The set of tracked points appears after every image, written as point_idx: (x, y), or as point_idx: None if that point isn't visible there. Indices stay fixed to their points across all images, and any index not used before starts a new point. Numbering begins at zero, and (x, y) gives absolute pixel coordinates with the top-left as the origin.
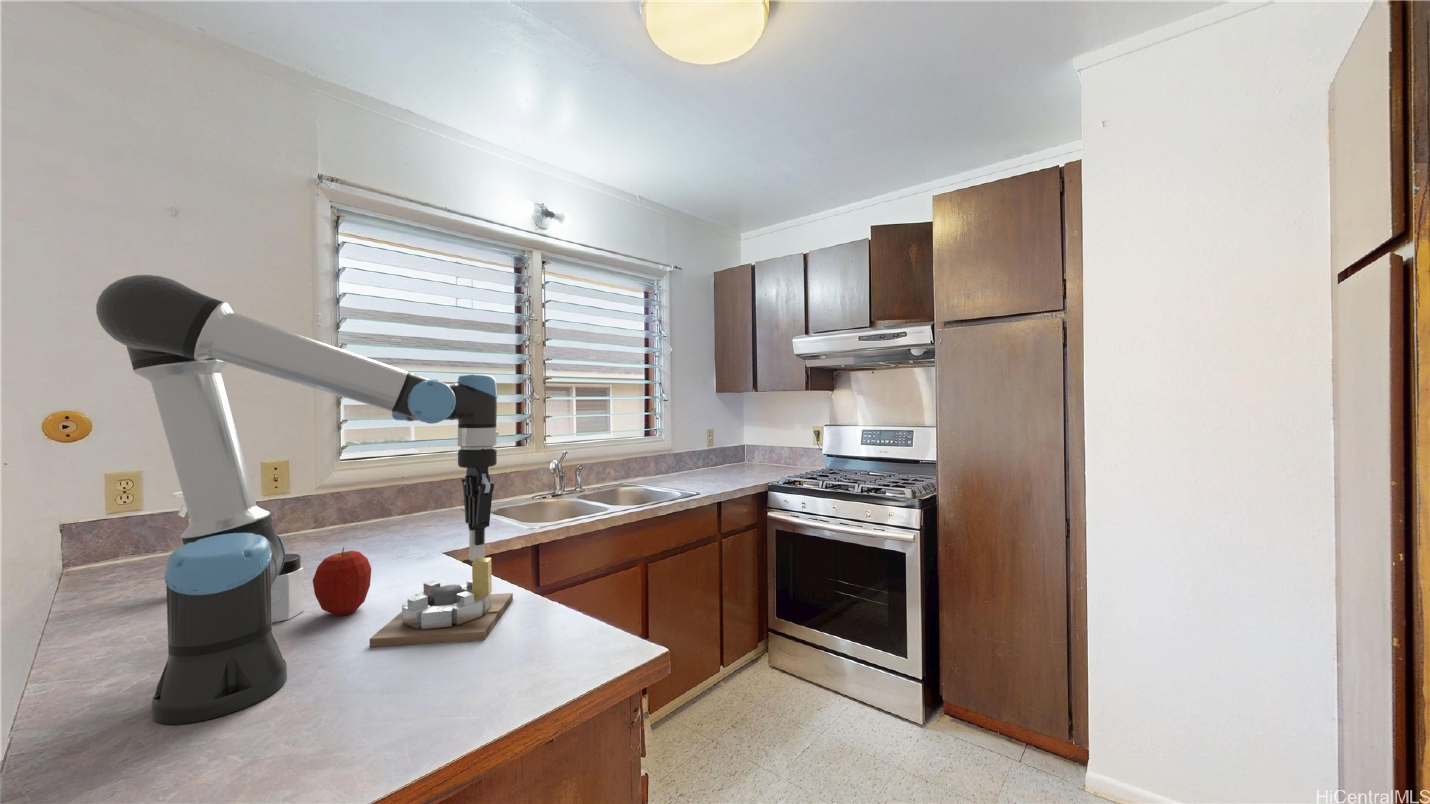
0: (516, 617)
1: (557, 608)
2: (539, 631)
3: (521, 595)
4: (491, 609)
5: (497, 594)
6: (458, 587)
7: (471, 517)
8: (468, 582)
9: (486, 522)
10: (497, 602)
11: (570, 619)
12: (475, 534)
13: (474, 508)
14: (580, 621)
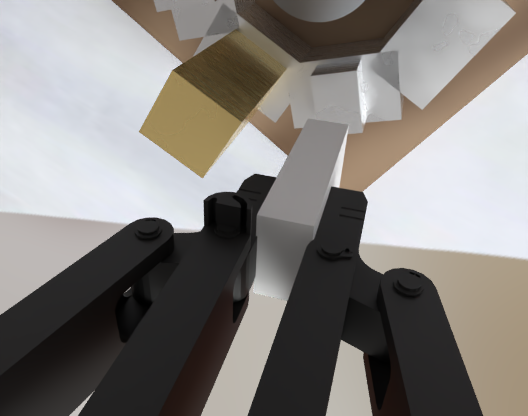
0: None
1: (183, 223)
2: (67, 109)
3: (363, 230)
4: None
5: (378, 170)
6: (296, 1)
7: (290, 303)
8: (339, 71)
9: (130, 295)
10: (298, 128)
11: (94, 197)
12: (254, 213)
13: (123, 347)
14: (70, 203)
